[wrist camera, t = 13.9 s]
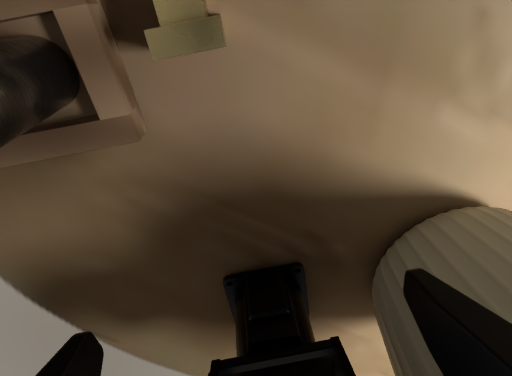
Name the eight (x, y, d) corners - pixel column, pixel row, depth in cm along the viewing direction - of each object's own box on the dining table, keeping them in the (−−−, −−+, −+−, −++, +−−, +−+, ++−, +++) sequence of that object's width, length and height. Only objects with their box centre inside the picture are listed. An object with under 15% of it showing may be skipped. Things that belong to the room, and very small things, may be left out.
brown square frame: (146, 129, 19) (138, 141, 17) (14, 154, 19) (-7, 169, 17) (88, -33, 15) (70, -38, 13) (-81, -1, 15) (-121, -2, 13)
